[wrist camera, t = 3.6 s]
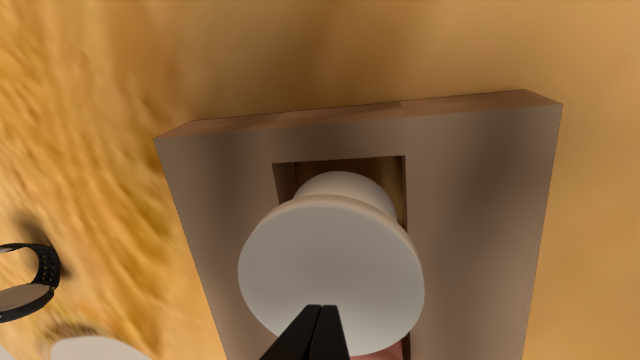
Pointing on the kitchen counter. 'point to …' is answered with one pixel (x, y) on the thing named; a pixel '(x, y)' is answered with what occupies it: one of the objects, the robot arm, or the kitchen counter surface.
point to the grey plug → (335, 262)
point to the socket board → (418, 204)
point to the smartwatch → (30, 285)
